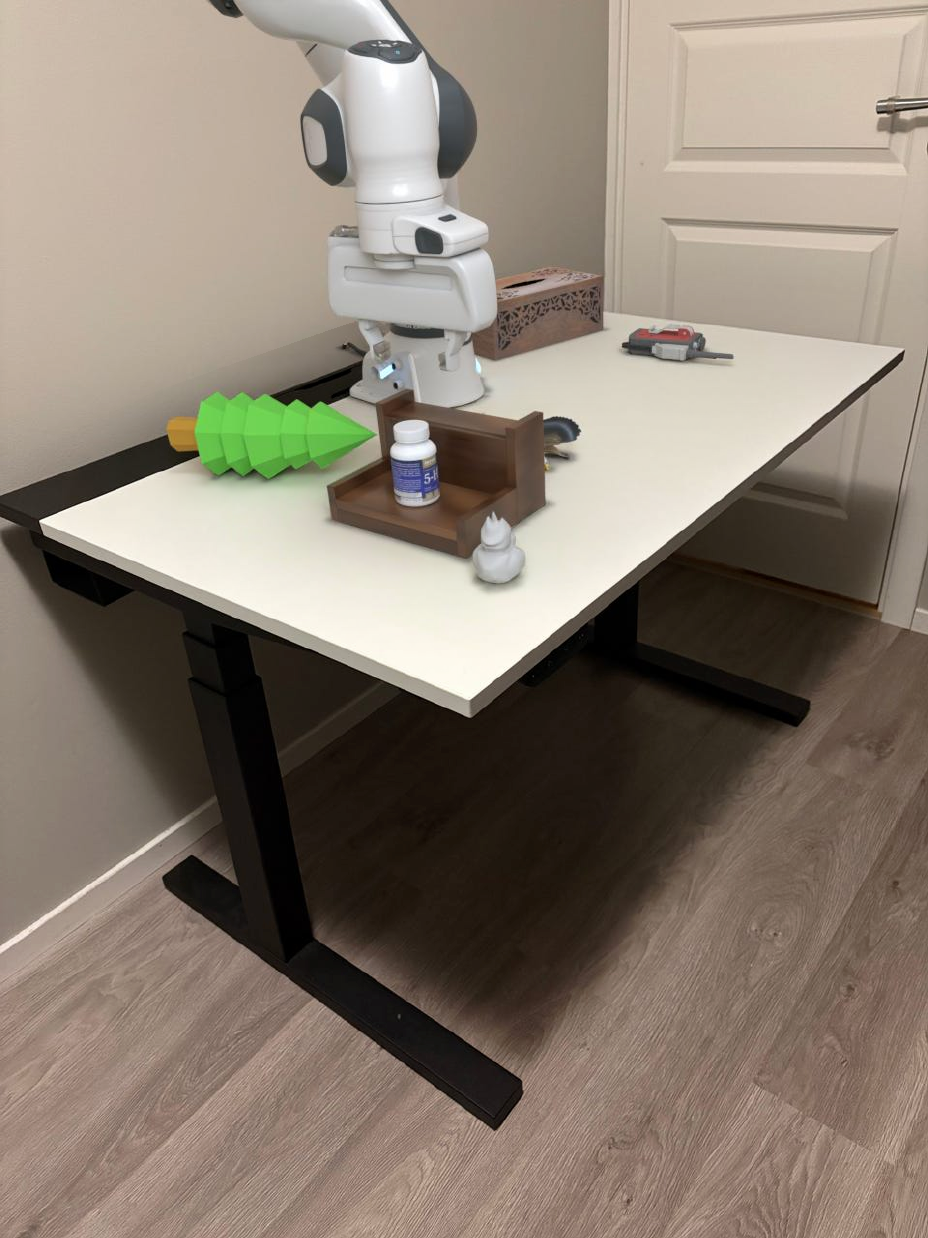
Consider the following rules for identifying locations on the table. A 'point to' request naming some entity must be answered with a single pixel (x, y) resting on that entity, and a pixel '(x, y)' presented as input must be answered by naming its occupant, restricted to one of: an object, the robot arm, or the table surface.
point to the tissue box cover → (541, 311)
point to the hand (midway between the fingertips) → (414, 364)
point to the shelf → (449, 477)
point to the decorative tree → (265, 434)
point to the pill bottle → (414, 464)
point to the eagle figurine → (558, 435)
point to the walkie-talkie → (670, 343)
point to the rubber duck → (497, 552)
